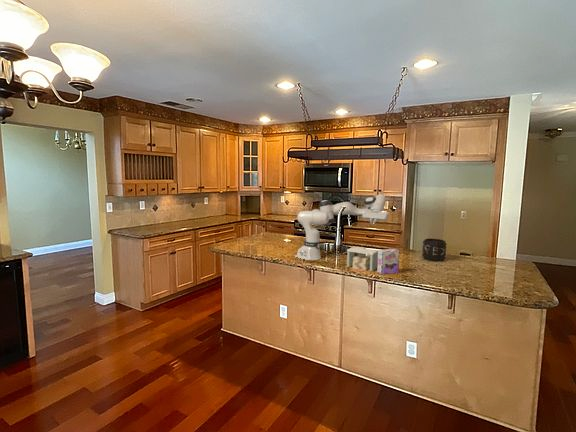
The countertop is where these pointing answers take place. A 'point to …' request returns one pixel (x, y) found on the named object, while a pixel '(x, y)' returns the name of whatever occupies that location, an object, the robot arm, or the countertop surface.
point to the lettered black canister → (434, 250)
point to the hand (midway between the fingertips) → (372, 223)
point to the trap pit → (357, 269)
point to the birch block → (361, 262)
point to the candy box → (388, 261)
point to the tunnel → (372, 253)
